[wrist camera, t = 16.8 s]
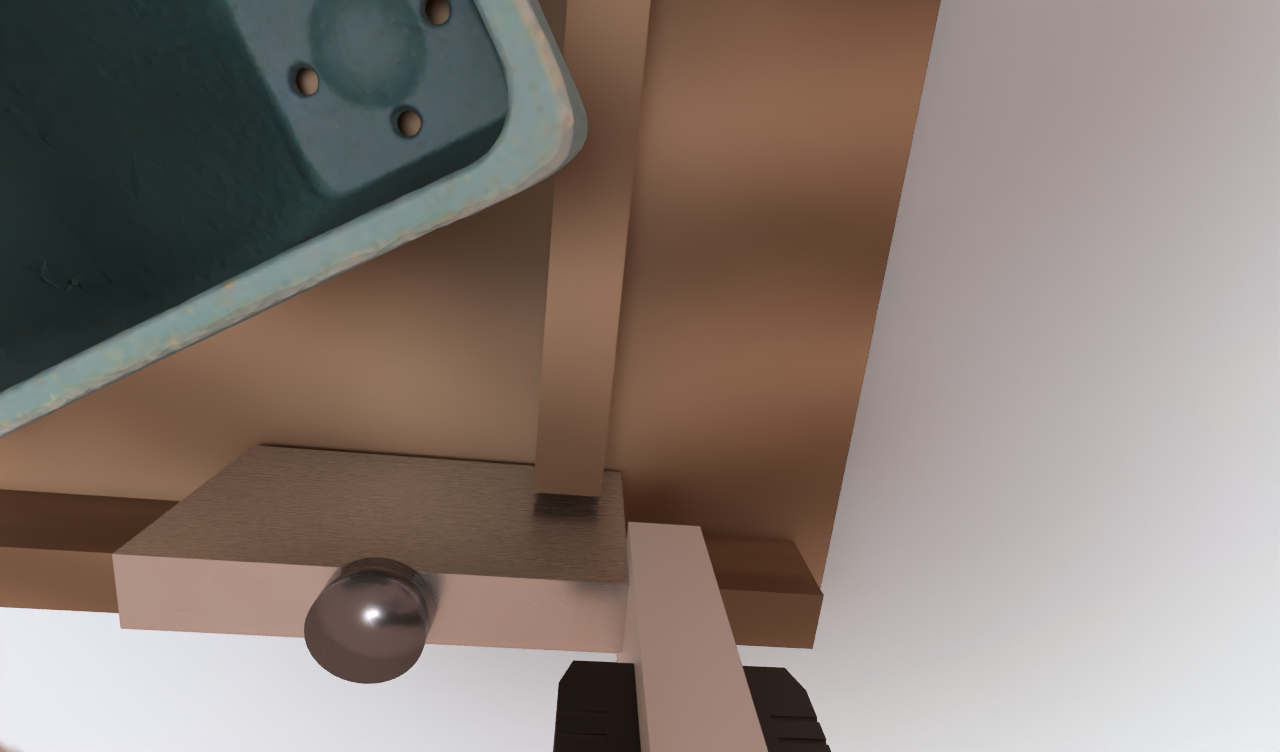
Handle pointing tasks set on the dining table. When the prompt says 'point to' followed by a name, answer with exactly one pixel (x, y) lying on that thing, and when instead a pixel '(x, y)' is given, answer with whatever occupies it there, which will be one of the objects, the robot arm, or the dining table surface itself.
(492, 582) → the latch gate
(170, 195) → the flower pot
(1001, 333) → the dining table surface
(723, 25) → the frame
